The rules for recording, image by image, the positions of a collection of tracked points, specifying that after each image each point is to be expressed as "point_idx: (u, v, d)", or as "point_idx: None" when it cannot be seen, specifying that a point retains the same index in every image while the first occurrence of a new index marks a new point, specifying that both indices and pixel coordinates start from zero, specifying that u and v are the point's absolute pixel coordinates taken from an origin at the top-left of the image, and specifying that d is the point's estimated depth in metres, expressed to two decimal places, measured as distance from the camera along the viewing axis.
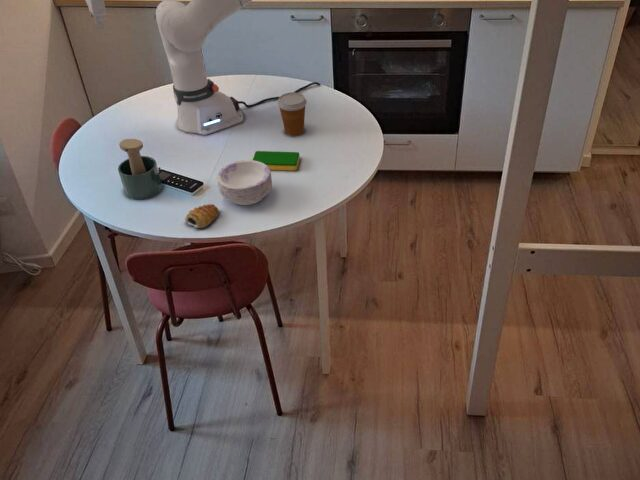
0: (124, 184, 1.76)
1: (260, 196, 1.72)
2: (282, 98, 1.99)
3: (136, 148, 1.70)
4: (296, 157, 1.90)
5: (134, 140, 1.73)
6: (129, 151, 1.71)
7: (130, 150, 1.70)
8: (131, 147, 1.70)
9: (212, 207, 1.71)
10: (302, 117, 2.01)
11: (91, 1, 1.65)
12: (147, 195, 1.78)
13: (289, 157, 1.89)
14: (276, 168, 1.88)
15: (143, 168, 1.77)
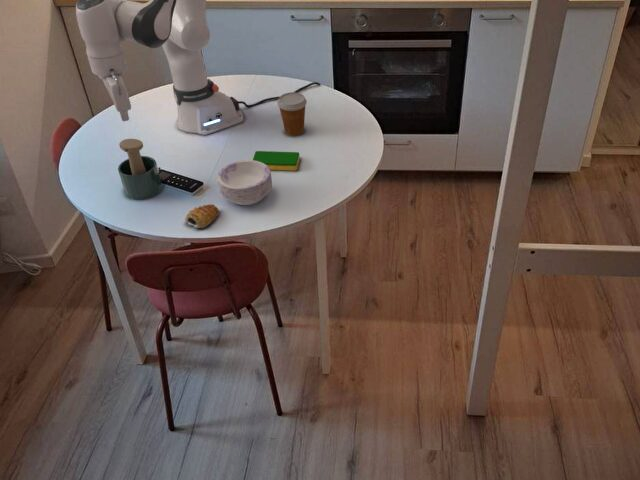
0: (124, 184, 1.76)
1: (260, 196, 1.72)
2: (282, 98, 1.99)
3: (136, 148, 1.70)
4: (296, 157, 1.90)
5: (134, 140, 1.73)
6: (129, 151, 1.71)
7: (130, 150, 1.70)
8: (131, 147, 1.70)
9: (212, 207, 1.71)
10: (302, 117, 2.01)
11: (115, 98, 1.53)
12: (147, 195, 1.78)
13: (289, 157, 1.89)
14: (276, 168, 1.88)
15: (143, 168, 1.77)
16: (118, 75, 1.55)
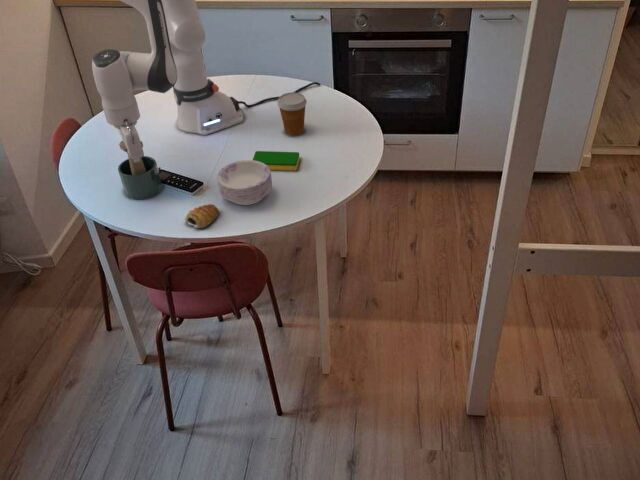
0: (124, 184, 1.76)
1: (260, 196, 1.72)
2: (282, 98, 1.99)
3: None
4: (296, 157, 1.90)
5: None
6: None
7: None
8: None
9: (212, 207, 1.71)
10: (302, 117, 2.01)
11: (129, 147, 1.62)
12: (147, 195, 1.78)
13: (289, 157, 1.89)
14: (276, 168, 1.88)
15: (143, 168, 1.77)
16: (131, 124, 1.64)
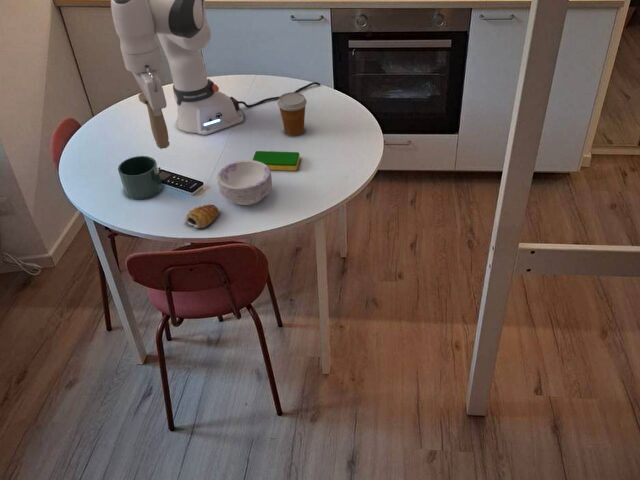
0: (124, 184, 1.76)
1: (260, 196, 1.72)
2: (282, 98, 1.99)
3: None
4: (296, 157, 1.90)
5: None
6: None
7: None
8: None
9: (212, 207, 1.71)
10: (302, 117, 2.01)
11: (150, 96, 1.46)
12: (147, 195, 1.78)
13: (289, 157, 1.89)
14: (276, 168, 1.88)
15: (164, 124, 1.61)
16: (153, 72, 1.48)
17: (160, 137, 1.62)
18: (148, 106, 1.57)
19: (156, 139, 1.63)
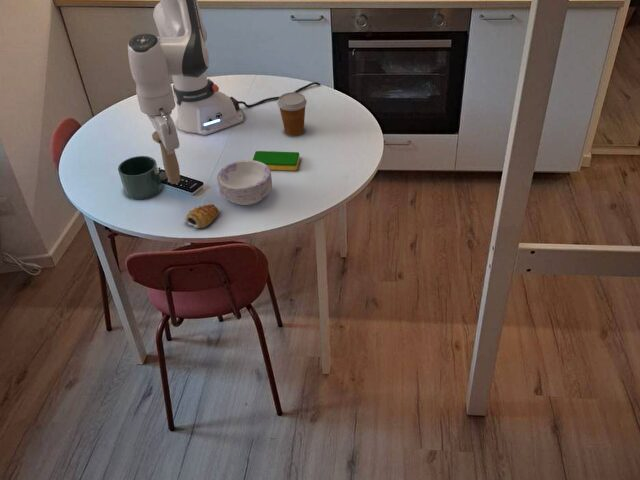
0: (124, 184, 1.76)
1: (260, 196, 1.72)
2: (282, 98, 1.99)
3: None
4: (296, 157, 1.90)
5: None
6: None
7: None
8: None
9: (212, 207, 1.71)
10: (302, 117, 2.01)
11: (164, 137, 1.53)
12: (147, 195, 1.78)
13: (289, 157, 1.89)
14: (276, 168, 1.88)
15: (176, 161, 1.68)
16: (167, 114, 1.55)
17: (172, 173, 1.69)
18: (161, 145, 1.64)
19: (168, 175, 1.70)
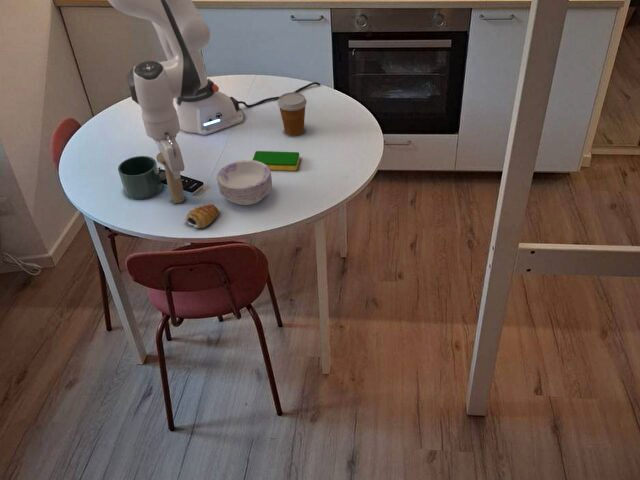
0: (124, 184, 1.76)
1: (260, 196, 1.72)
2: (282, 98, 1.99)
3: None
4: (296, 157, 1.90)
5: None
6: None
7: None
8: None
9: (212, 207, 1.71)
10: (302, 117, 2.01)
11: (170, 161, 1.58)
12: (147, 195, 1.78)
13: (289, 157, 1.89)
14: (276, 168, 1.88)
15: (179, 181, 1.72)
16: (172, 138, 1.60)
17: (176, 193, 1.73)
18: (165, 166, 1.68)
19: (172, 195, 1.74)
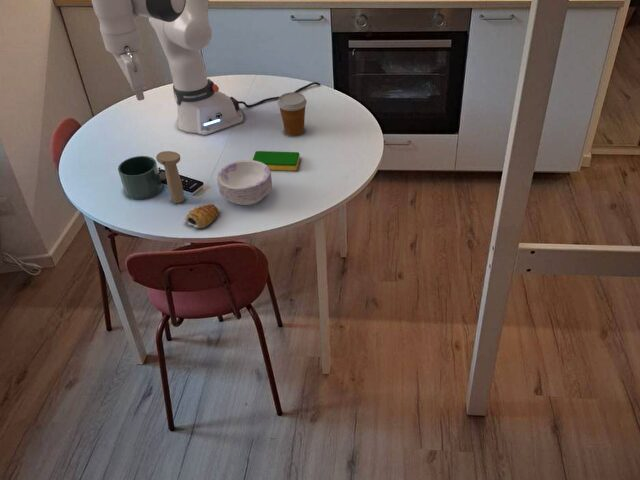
0: (124, 184, 1.76)
1: (260, 196, 1.72)
2: (282, 98, 1.99)
3: (174, 161, 1.66)
4: (296, 157, 1.90)
5: (171, 152, 1.69)
6: (166, 164, 1.66)
7: (168, 163, 1.66)
8: (168, 160, 1.66)
9: (212, 207, 1.71)
10: (302, 117, 2.01)
11: (130, 76, 1.48)
12: (147, 195, 1.78)
13: (289, 157, 1.89)
14: (276, 168, 1.88)
15: (179, 181, 1.72)
16: (133, 52, 1.50)
17: (175, 193, 1.73)
18: (165, 166, 1.68)
19: (172, 195, 1.74)
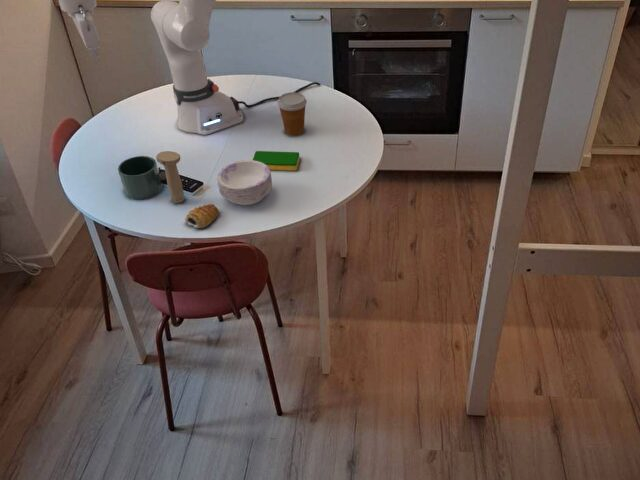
0: (124, 184, 1.76)
1: (260, 196, 1.72)
2: (282, 98, 1.99)
3: (174, 161, 1.66)
4: (296, 157, 1.90)
5: (171, 152, 1.69)
6: (166, 164, 1.66)
7: (168, 163, 1.66)
8: (168, 160, 1.66)
9: (212, 207, 1.71)
10: (302, 117, 2.01)
11: (83, 34, 1.53)
12: (147, 195, 1.78)
13: (289, 157, 1.89)
14: (276, 168, 1.88)
15: (179, 181, 1.72)
16: (87, 12, 1.55)
17: (175, 193, 1.73)
18: (165, 166, 1.68)
19: (172, 195, 1.74)
